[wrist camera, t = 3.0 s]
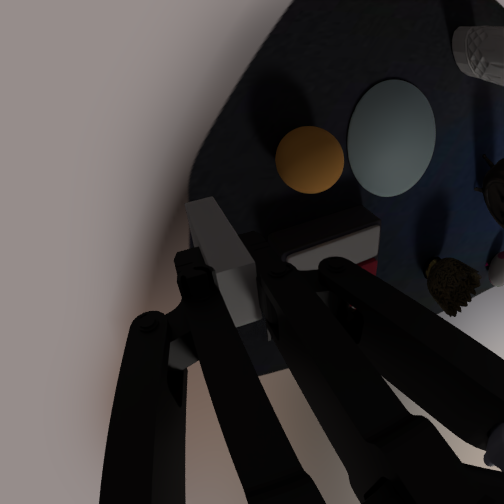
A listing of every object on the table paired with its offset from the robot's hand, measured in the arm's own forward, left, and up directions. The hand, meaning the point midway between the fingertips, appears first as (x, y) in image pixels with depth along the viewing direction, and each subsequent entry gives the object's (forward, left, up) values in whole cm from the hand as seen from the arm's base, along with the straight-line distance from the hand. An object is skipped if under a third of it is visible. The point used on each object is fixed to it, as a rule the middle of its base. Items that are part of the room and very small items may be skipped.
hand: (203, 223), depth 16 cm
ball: (-10, +2, -7) cm, 12 cm away
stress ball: (-50, +36, -10) cm, 62 cm away
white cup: (-37, -5, -10) cm, 38 cm away
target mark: (-21, +4, -10) cm, 24 cm away
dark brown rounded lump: (-28, +25, -10) cm, 39 cm away
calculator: (-10, +17, -10) cm, 22 cm away
